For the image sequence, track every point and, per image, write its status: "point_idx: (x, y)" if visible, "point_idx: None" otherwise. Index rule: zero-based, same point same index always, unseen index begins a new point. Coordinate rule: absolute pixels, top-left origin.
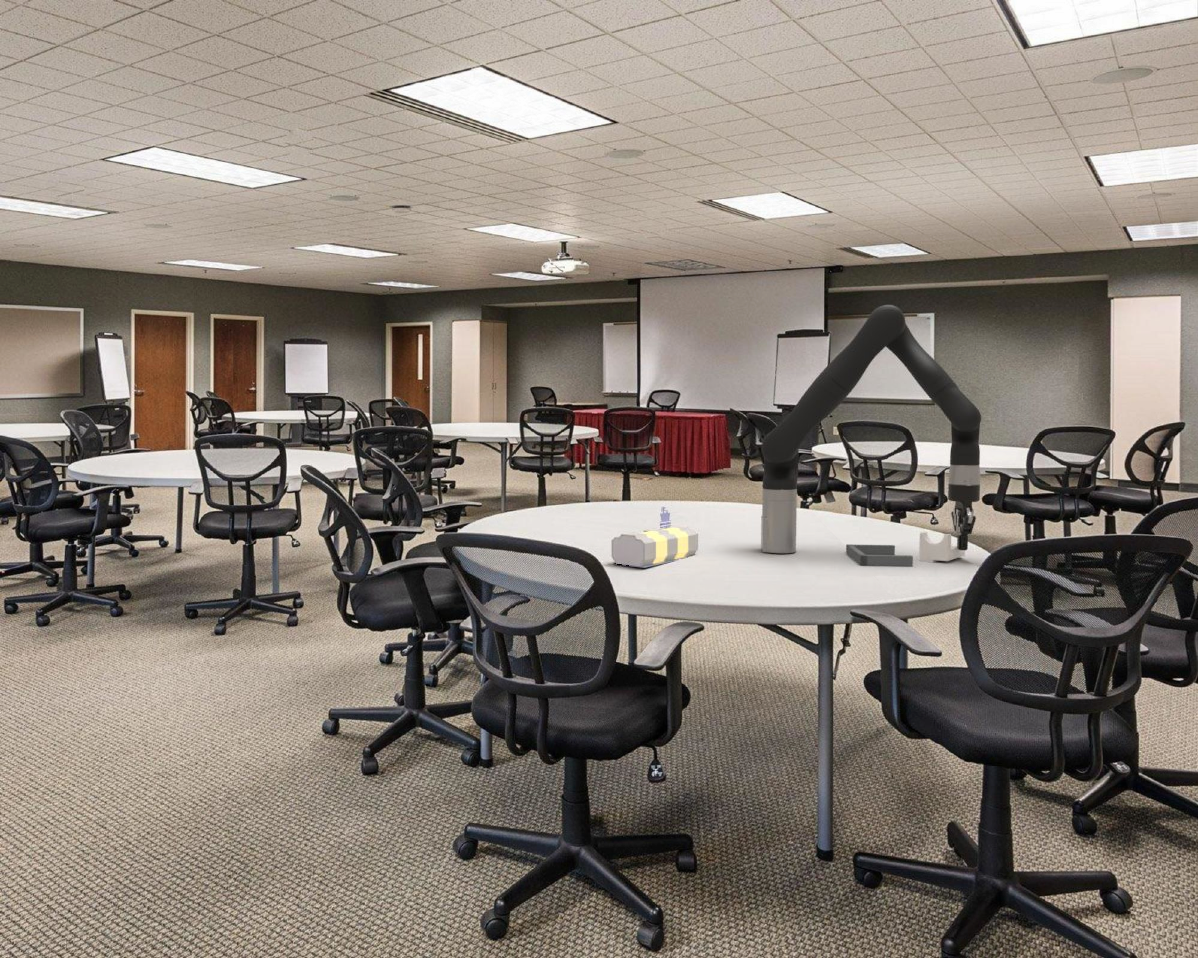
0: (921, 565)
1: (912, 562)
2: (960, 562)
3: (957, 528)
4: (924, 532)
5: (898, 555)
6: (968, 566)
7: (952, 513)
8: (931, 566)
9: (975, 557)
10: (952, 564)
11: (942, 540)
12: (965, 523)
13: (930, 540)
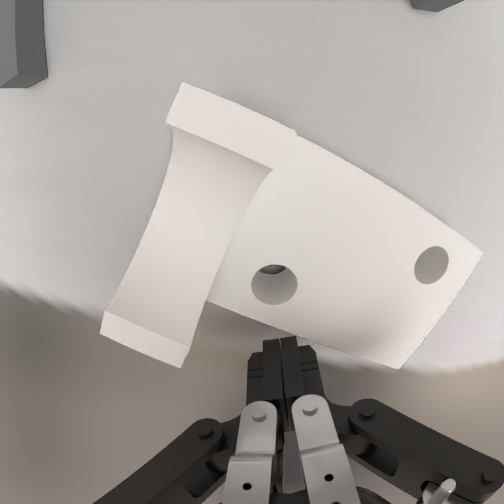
0: (63, 119)
1: (16, 86)
2: None
3: (301, 434)
4: (243, 136)
5: (10, 20)
6: None
7: (480, 482)
8: (51, 166)
9: None
10: None
11: (124, 276)
12: (122, 488)
13: (249, 187)
